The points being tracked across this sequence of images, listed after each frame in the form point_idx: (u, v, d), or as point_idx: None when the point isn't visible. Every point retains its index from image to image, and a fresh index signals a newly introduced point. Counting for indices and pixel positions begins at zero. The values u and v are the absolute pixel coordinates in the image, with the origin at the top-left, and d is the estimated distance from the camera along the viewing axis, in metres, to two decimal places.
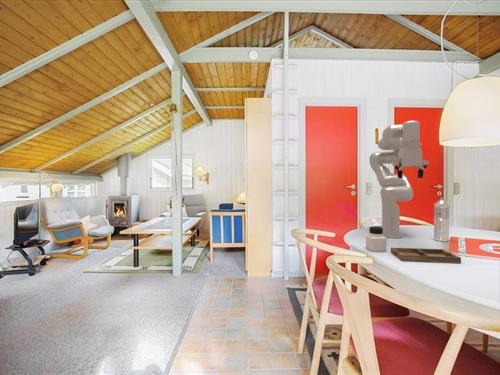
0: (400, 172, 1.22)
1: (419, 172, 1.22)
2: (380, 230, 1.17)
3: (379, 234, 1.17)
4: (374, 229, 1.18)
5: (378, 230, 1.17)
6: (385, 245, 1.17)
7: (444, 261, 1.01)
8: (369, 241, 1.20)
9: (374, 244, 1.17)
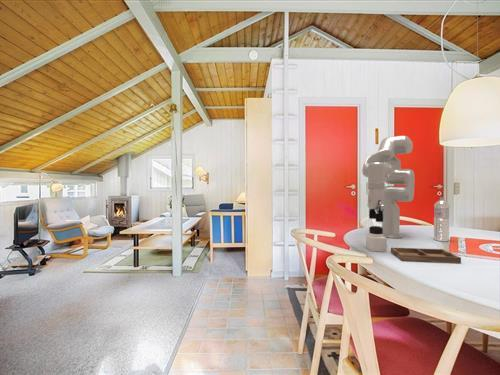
0: (382, 215, 1.14)
1: (372, 213, 1.24)
2: (380, 230, 1.17)
3: (379, 234, 1.17)
4: (374, 229, 1.18)
5: (378, 230, 1.17)
6: (385, 245, 1.17)
7: (444, 261, 1.01)
8: (369, 241, 1.20)
9: (374, 244, 1.17)
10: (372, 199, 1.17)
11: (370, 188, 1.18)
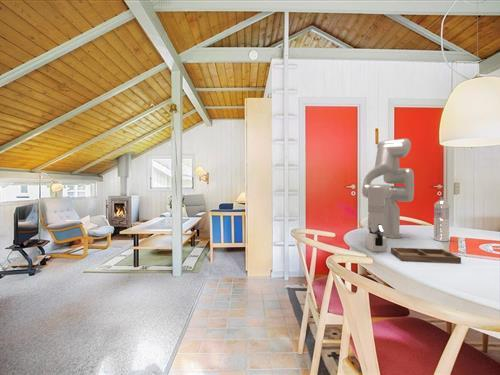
0: (381, 240, 1.16)
1: None
2: None
3: None
4: None
5: None
6: (385, 245, 1.17)
7: (444, 261, 1.01)
8: (369, 241, 1.20)
9: (374, 244, 1.17)
10: (372, 222, 1.17)
11: (370, 211, 1.19)
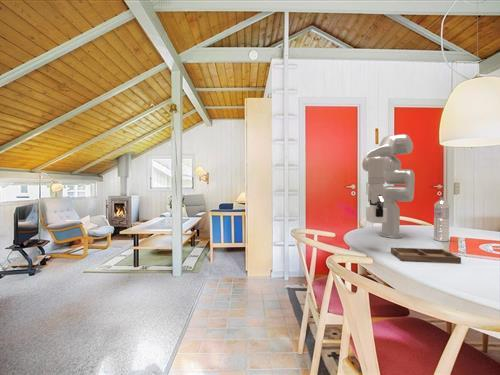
0: (382, 210, 1.15)
1: None
2: None
3: None
4: None
5: (378, 202, 1.17)
6: (385, 216, 1.17)
7: (444, 261, 1.01)
8: (369, 213, 1.20)
9: (375, 215, 1.17)
10: (372, 194, 1.17)
11: (370, 183, 1.18)
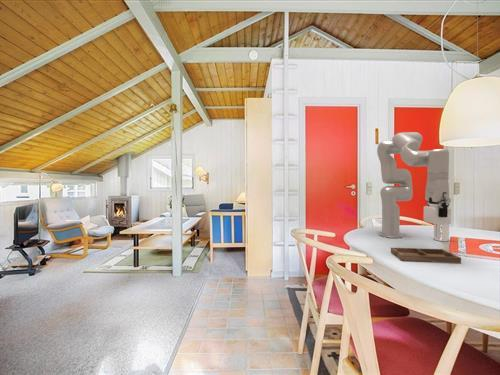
0: None
1: None
2: None
3: None
4: None
5: (441, 200, 1.03)
6: (449, 216, 1.03)
7: (444, 261, 1.01)
8: (429, 213, 1.06)
9: (437, 215, 1.03)
10: (434, 191, 1.03)
11: (431, 178, 1.04)
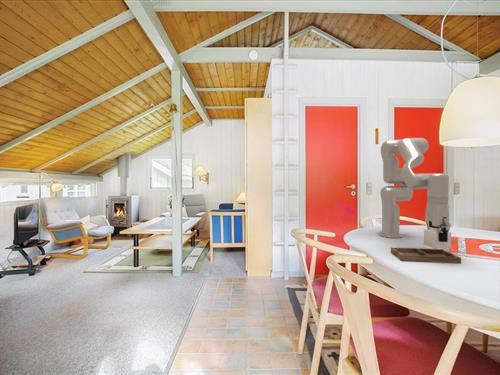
0: None
1: None
2: None
3: (442, 228, 1.03)
4: None
5: None
6: (449, 241, 1.03)
7: (444, 261, 1.01)
8: (429, 237, 1.06)
9: (437, 240, 1.03)
10: (434, 215, 1.03)
11: (431, 203, 1.05)
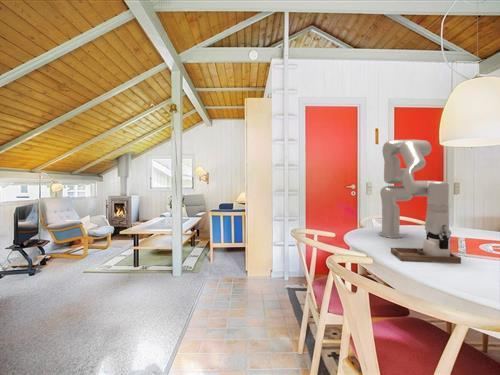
0: (447, 242, 1.01)
1: None
2: (443, 235, 1.04)
3: None
4: None
5: None
6: (449, 252, 1.03)
7: (444, 261, 1.01)
8: (428, 247, 1.07)
9: (436, 251, 1.04)
10: (434, 223, 1.04)
11: (431, 210, 1.05)
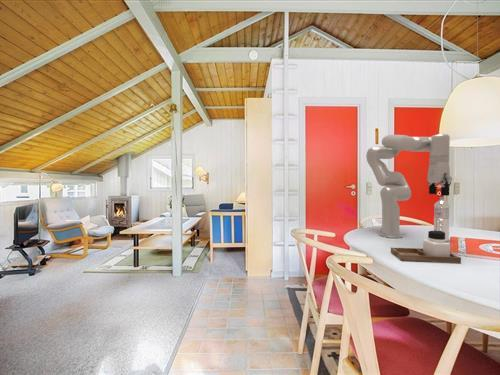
0: (448, 189, 1.10)
1: (433, 188, 1.20)
2: (443, 235, 1.04)
3: (442, 239, 1.04)
4: (435, 234, 1.05)
5: (440, 235, 1.04)
6: (449, 252, 1.03)
7: (444, 261, 1.01)
8: (428, 247, 1.07)
9: (436, 251, 1.04)
10: (436, 172, 1.12)
11: (433, 161, 1.14)
